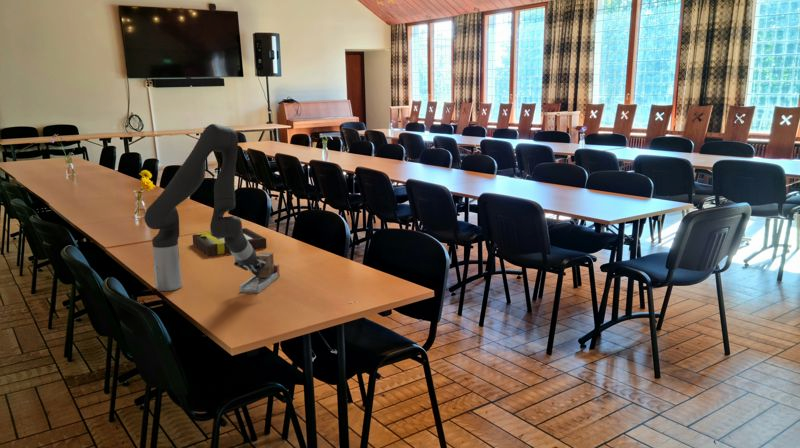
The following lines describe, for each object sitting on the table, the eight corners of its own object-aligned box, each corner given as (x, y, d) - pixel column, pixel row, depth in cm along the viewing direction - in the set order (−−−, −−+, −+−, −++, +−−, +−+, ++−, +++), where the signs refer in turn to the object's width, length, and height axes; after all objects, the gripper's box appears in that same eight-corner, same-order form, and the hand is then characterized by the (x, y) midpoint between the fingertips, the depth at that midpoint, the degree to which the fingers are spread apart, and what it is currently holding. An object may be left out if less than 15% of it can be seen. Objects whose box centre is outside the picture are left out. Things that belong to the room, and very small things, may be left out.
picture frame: (208, 243, 279) (191, 232, 304) (209, 257, 281) (192, 244, 305) (266, 236, 294) (246, 225, 319) (267, 249, 296) (246, 237, 320)
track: (258, 293, 229) (257, 280, 228) (239, 292, 230) (238, 279, 229) (279, 276, 250) (279, 264, 249) (262, 275, 251) (261, 263, 250)
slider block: (269, 277, 242) (268, 256, 241) (257, 277, 243) (256, 255, 241) (274, 274, 247) (273, 252, 245) (262, 273, 248) (261, 252, 246)
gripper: (261, 242, 223) (275, 265, 237) (228, 241, 225) (243, 264, 240) (257, 260, 219) (271, 282, 233) (223, 259, 221) (239, 281, 236)
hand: (257, 273), depth 236 cm, fingers closed
